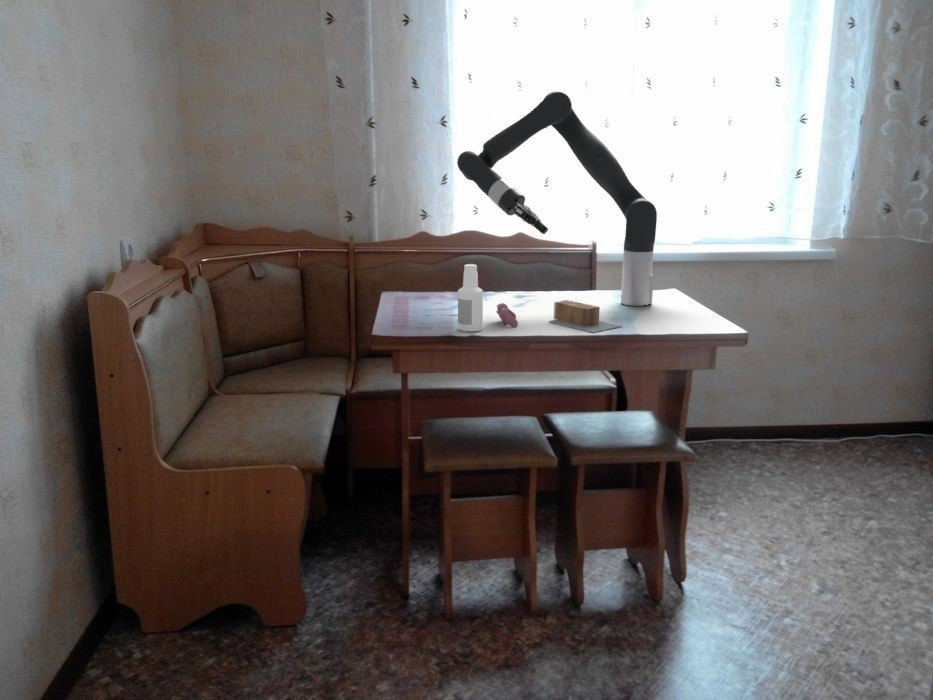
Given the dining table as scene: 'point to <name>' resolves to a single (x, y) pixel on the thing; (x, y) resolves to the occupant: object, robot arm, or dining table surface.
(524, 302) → the dining table surface
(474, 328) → the spray bottle
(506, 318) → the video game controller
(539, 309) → the dining table surface
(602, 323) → the rubber mat
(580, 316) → the walnut block
